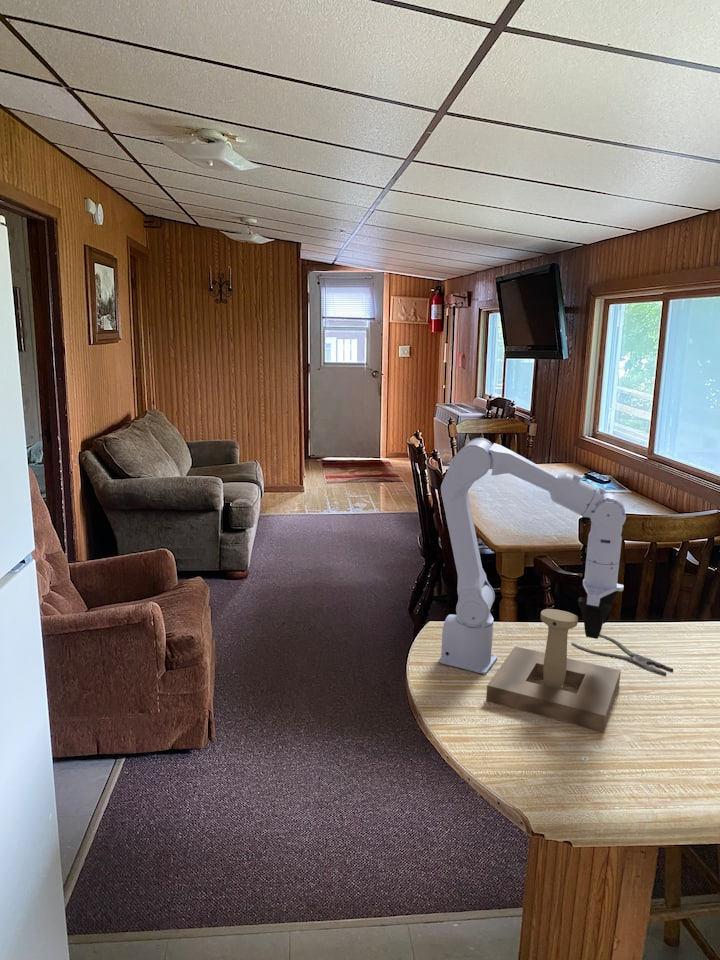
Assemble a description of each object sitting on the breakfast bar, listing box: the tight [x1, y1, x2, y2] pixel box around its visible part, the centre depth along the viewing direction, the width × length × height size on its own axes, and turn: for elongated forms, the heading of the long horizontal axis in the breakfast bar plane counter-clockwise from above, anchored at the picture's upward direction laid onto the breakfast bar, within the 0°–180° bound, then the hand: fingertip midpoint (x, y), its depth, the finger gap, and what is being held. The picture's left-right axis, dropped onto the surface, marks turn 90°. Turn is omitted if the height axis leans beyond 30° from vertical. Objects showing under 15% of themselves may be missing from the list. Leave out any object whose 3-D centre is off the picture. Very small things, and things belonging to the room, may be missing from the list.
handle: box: [540, 608, 579, 690], centre depth 127 cm, size 5×6×15 cm
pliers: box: [571, 633, 674, 676], centre depth 145 cm, size 10×1×20 cm
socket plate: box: [485, 646, 622, 733], centre depth 128 cm, size 20×18×3 cm
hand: (595, 629), depth 131 cm, fingers open, 7 cm apart
